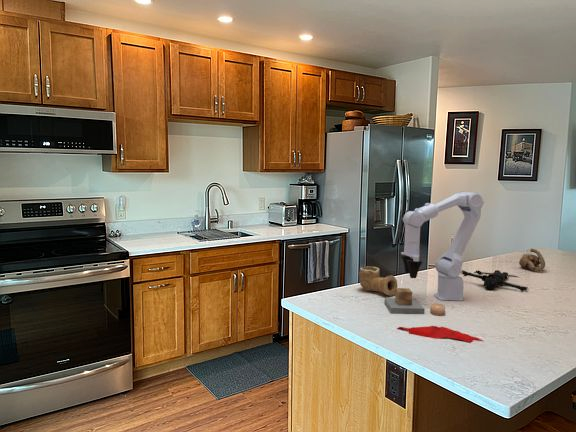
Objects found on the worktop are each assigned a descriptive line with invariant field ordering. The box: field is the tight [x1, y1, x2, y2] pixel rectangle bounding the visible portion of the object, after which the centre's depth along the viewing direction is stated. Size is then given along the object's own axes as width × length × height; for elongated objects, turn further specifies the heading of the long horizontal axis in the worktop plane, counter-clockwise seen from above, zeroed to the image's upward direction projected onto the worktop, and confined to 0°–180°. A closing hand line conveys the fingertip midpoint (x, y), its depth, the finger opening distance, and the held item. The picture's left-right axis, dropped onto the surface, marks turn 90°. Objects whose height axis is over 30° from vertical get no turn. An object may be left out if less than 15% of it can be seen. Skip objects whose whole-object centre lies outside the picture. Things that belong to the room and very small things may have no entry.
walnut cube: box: [394, 287, 413, 305], centre depth 160 cm, size 5×5×5 cm
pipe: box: [358, 266, 398, 297], centre depth 180 cm, size 9×16×10 cm, turn 45°
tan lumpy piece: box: [518, 248, 546, 273], centre depth 227 cm, size 13×9×15 cm
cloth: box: [396, 325, 484, 344], centre depth 136 cm, size 26×14×2 cm, turn 57°
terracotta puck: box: [429, 303, 446, 317], centre depth 155 cm, size 5×5×3 cm
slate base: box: [383, 297, 426, 315], centre depth 160 cm, size 12×12×2 cm
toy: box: [460, 269, 530, 293], centre depth 197 cm, size 29×7×30 cm
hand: (410, 275), depth 170 cm, fingers open, 7 cm apart
